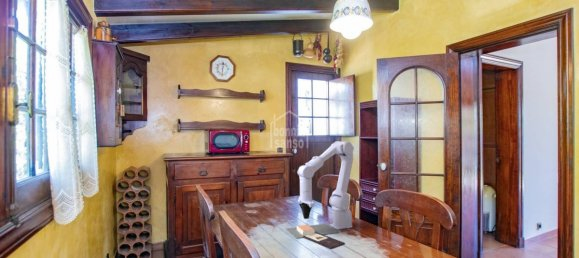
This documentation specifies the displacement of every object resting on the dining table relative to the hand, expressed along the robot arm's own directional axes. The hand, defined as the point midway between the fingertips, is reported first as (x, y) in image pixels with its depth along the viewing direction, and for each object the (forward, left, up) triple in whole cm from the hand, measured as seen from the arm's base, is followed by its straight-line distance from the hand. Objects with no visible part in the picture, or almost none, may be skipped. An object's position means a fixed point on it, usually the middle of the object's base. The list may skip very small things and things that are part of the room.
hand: (306, 218), depth 146 cm
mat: (-4, -2, -7) cm, 8 cm away
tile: (0, -5, -6) cm, 8 cm away
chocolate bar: (-3, +12, -8) cm, 14 cm away
